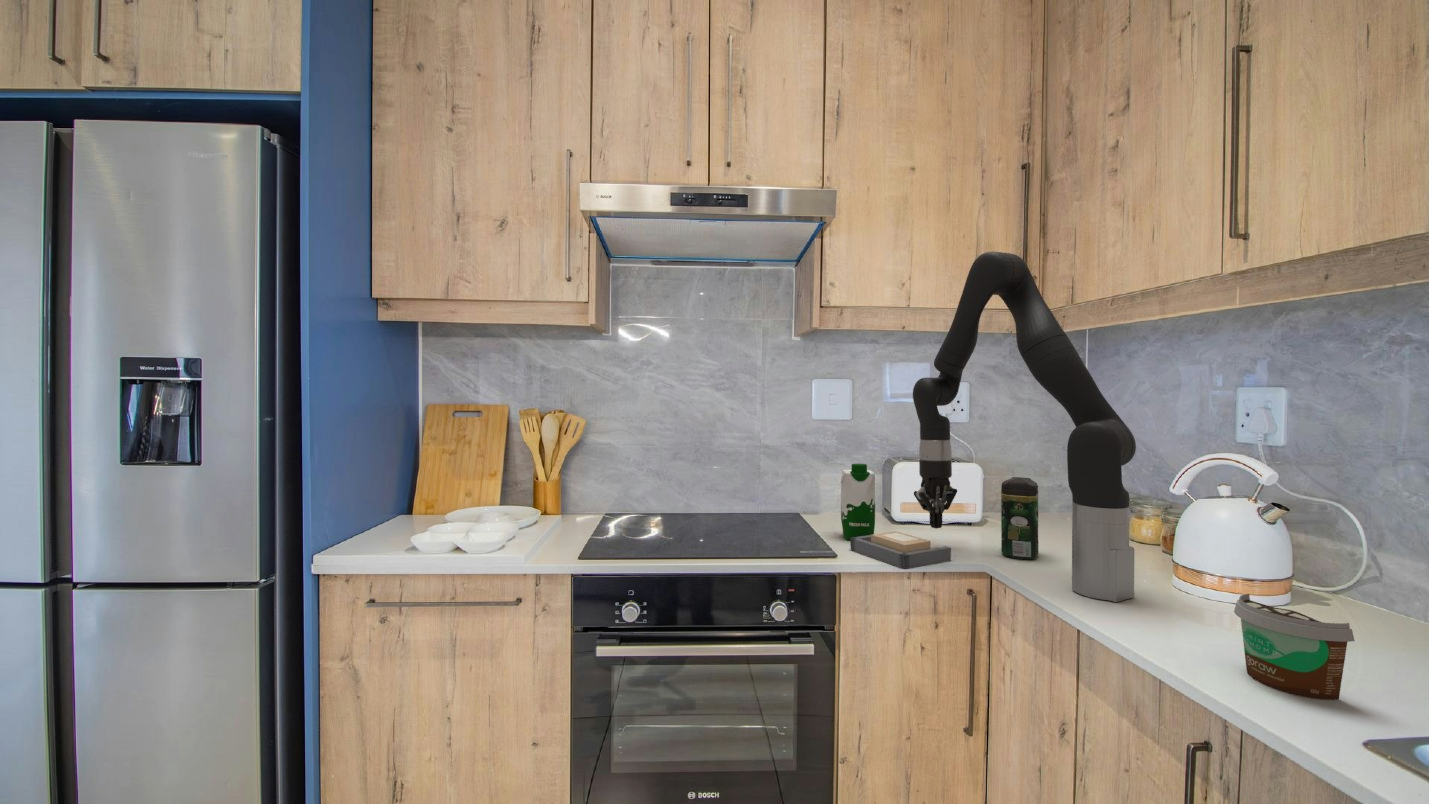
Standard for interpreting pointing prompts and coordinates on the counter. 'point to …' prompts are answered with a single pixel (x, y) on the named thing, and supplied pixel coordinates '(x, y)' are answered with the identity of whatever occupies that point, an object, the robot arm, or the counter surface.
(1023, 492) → the coffee jar
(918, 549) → the carton
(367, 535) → the counter surface
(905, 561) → the grey u-shaped bracket
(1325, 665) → the food container
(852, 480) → the milk carton
